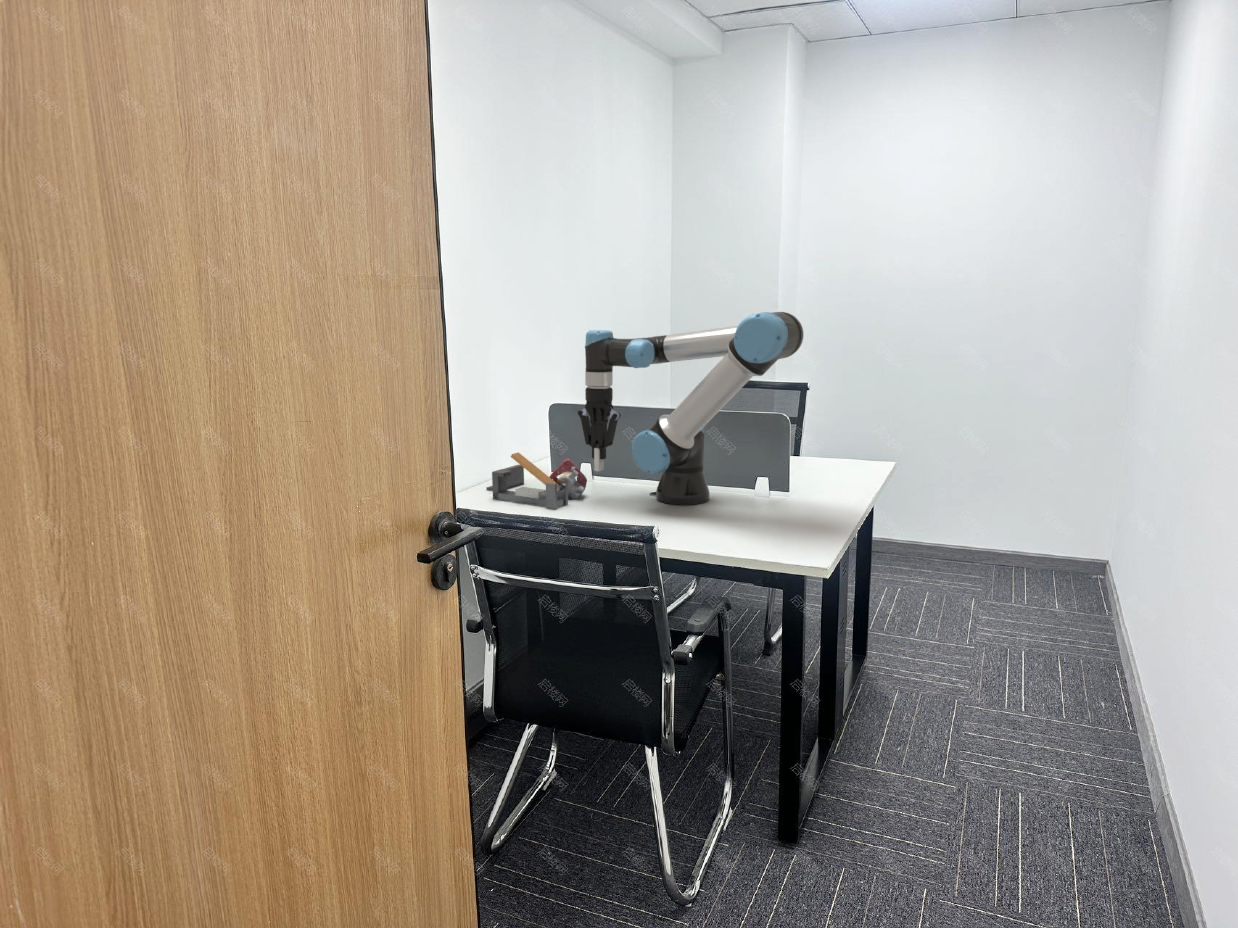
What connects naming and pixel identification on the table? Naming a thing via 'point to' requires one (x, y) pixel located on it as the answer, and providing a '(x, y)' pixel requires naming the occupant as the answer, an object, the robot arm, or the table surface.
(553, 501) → the clip base
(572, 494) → the brake caliper
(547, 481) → the tan wooden flat bar
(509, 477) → the bracket
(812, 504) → the table surface
